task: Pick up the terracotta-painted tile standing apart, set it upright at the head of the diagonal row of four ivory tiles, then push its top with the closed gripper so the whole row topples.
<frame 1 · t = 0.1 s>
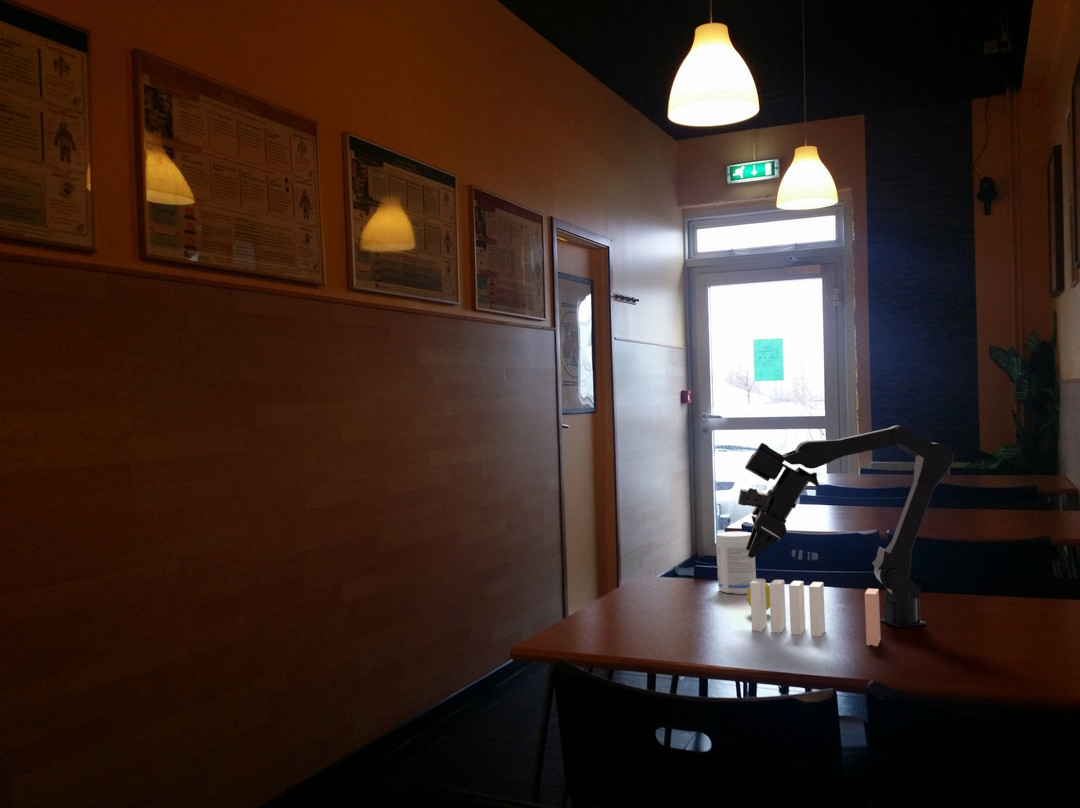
hand: (748, 553, 188), 15 cm above the table, tool tilted 35°, fingers open, 9 cm apart
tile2: (818, 633, 176), on the table
tile end: (759, 628, 182), on the table
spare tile: (873, 642, 168), on the table
tile3: (798, 631, 178), on the table
supplement tub: (737, 592, 219), on the table
lemon: (760, 615, 194), on the table
tile4: (778, 629, 180), on the table
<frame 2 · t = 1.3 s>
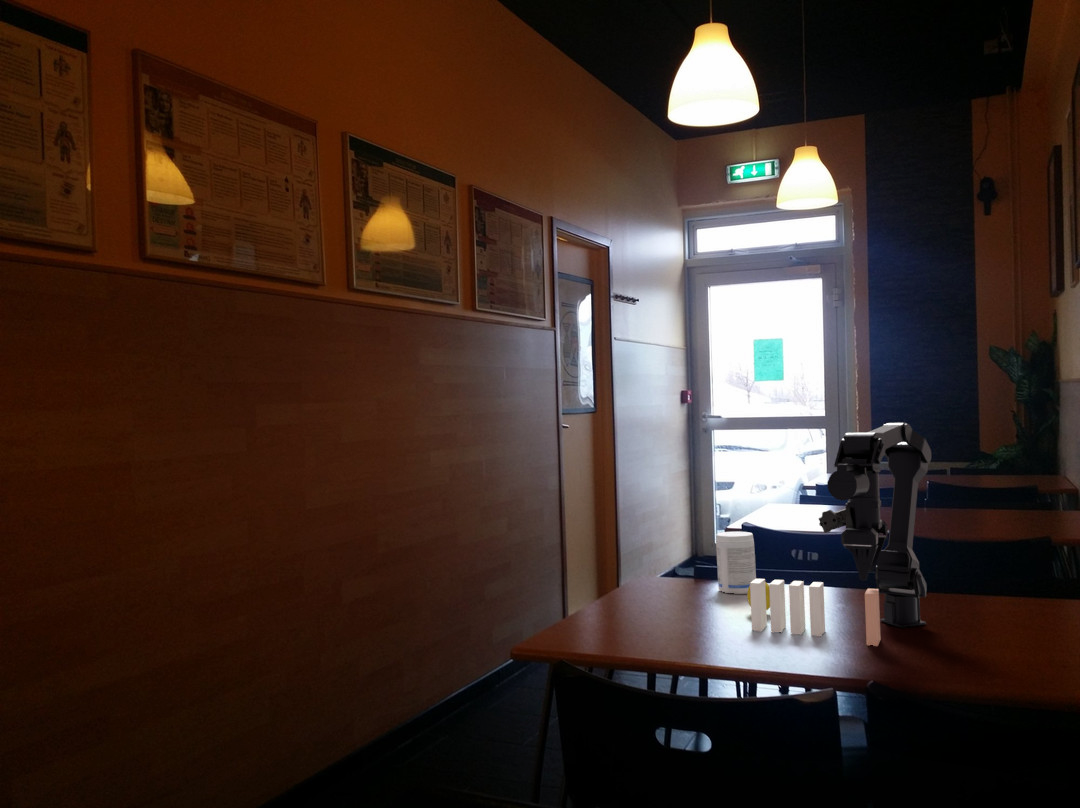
hand: (866, 575, 168), 13 cm above the table, tool pointing down, fingers open, 9 cm apart
nothing on the table moved.
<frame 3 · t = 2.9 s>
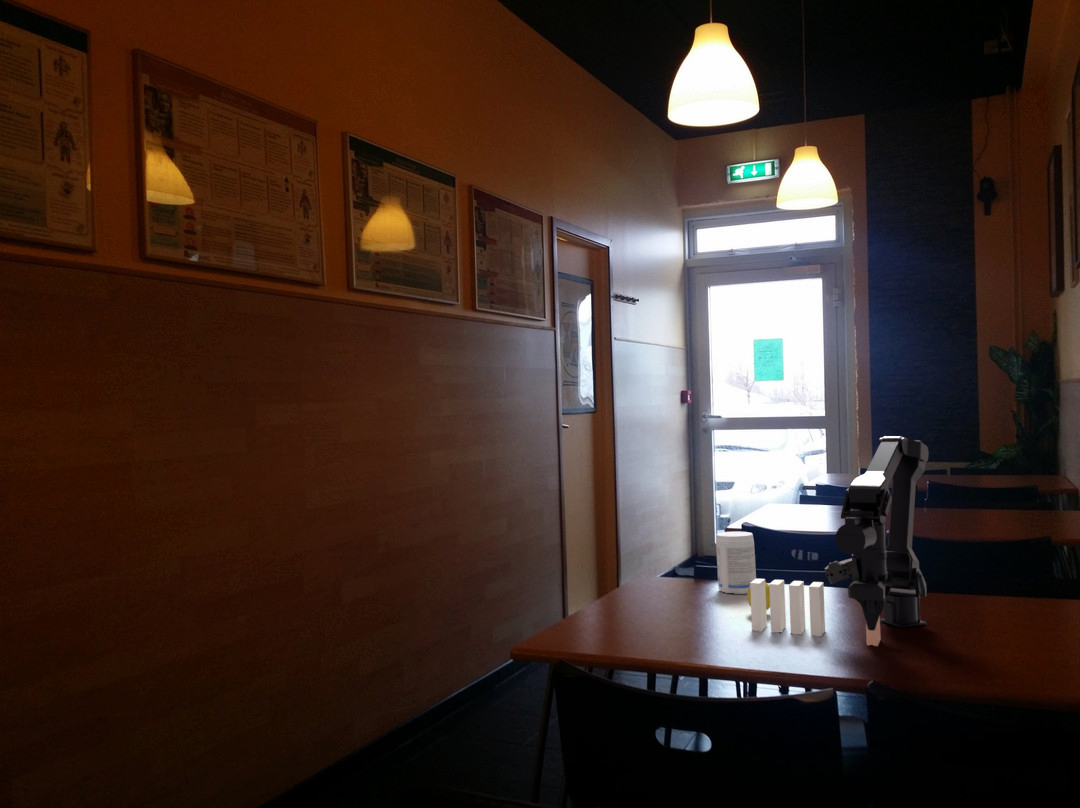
hand: (873, 626, 168), 3 cm above the table, tool pointing down, fingers closed on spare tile, 5 cm apart
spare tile: (873, 642, 168), on the table, touching gripper
everything else where it was.
when the fingers open (4 cm above the table, at t = 6.8 s): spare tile stays where it is, on the table.
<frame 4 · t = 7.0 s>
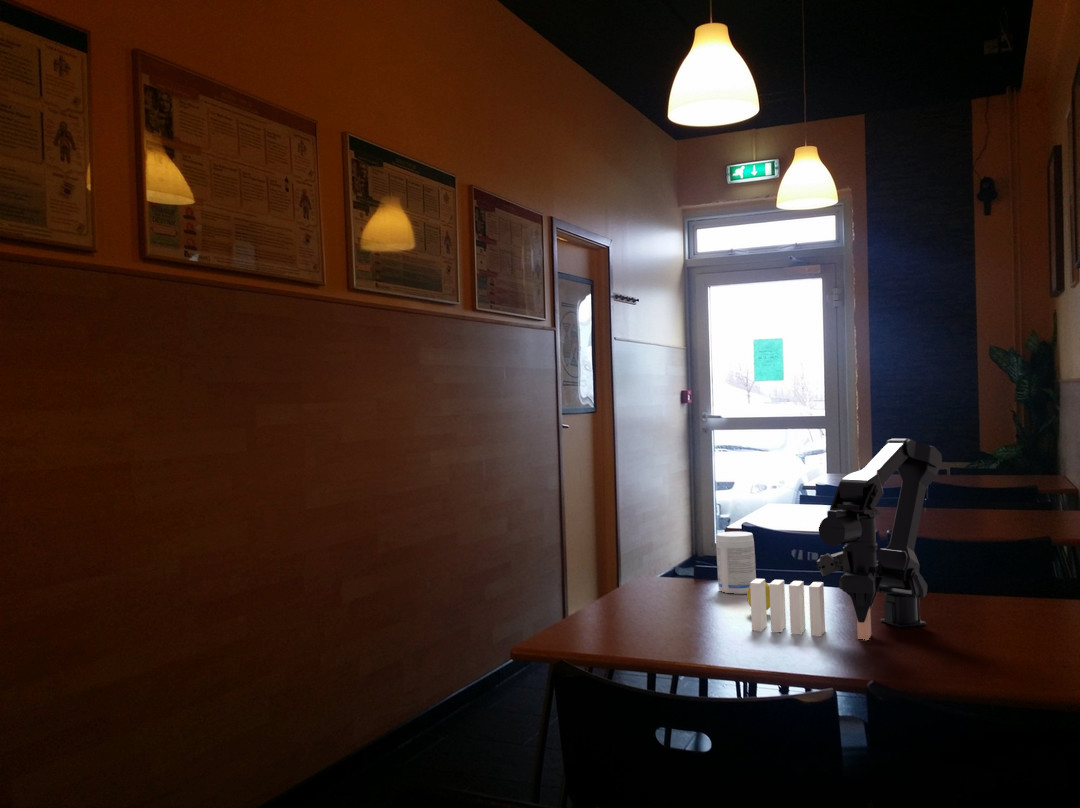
hand: (863, 617, 172), 4 cm above the table, tool pointing down, fingers open, 7 cm apart
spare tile: (864, 637, 172), on the table
everything else where it was.
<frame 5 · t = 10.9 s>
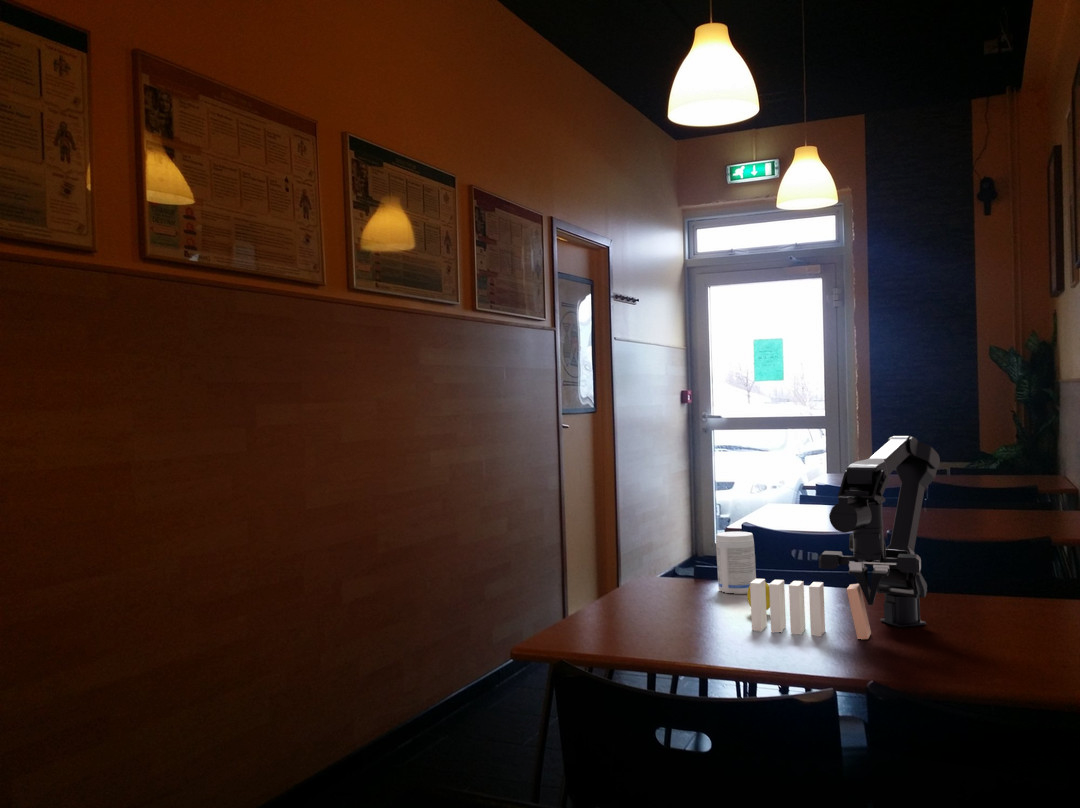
hand: (870, 604, 171), 7 cm above the table, tool pointing down, fingers closed
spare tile: (864, 636, 172), on the table, tilted 10°
everything else where it was.
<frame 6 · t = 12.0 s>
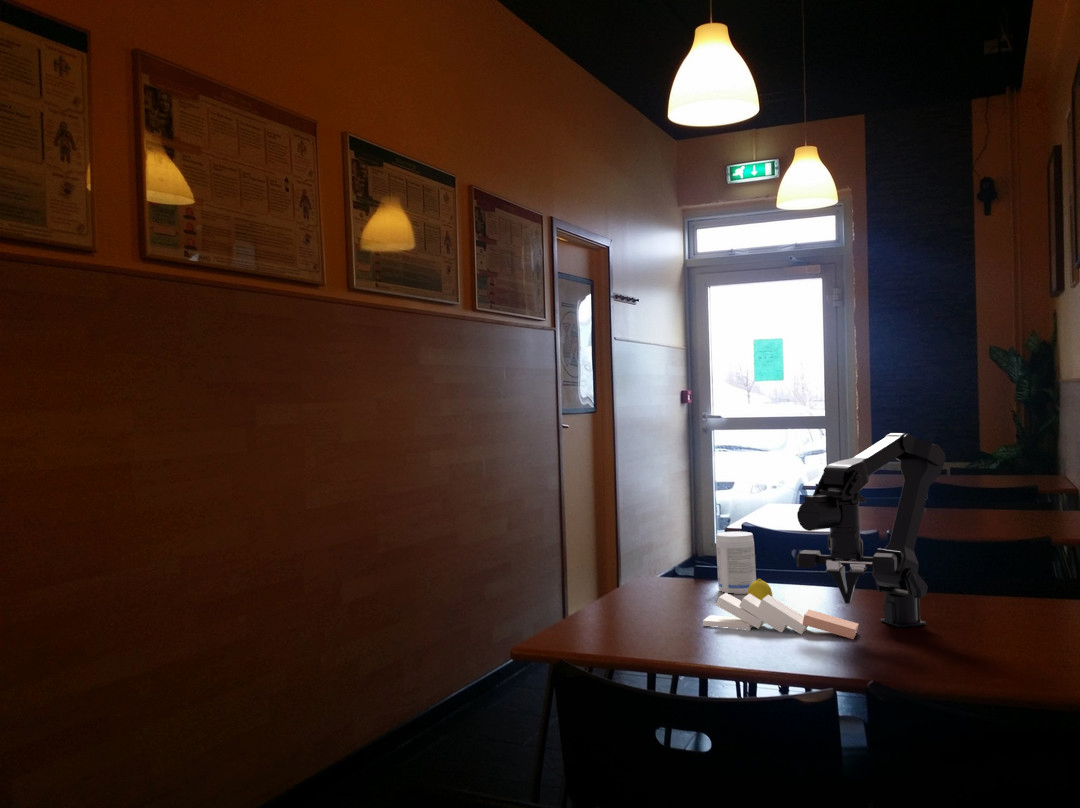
hand: (847, 603, 174), 7 cm above the table, tool pointing down, fingers closed
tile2: (806, 627, 177), point 1 cm above the table, tilted 61°, touching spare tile, tile3
tile end: (752, 626, 183), on the table, tilted 90°
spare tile: (856, 631, 173), point 1 cm above the table, tilted 77°, touching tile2
tile3: (786, 626, 179), point 1 cm above the table, tilted 61°, touching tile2
tile4: (763, 622, 182), point 1 cm above the table, tilted 65°
everything else where it was.
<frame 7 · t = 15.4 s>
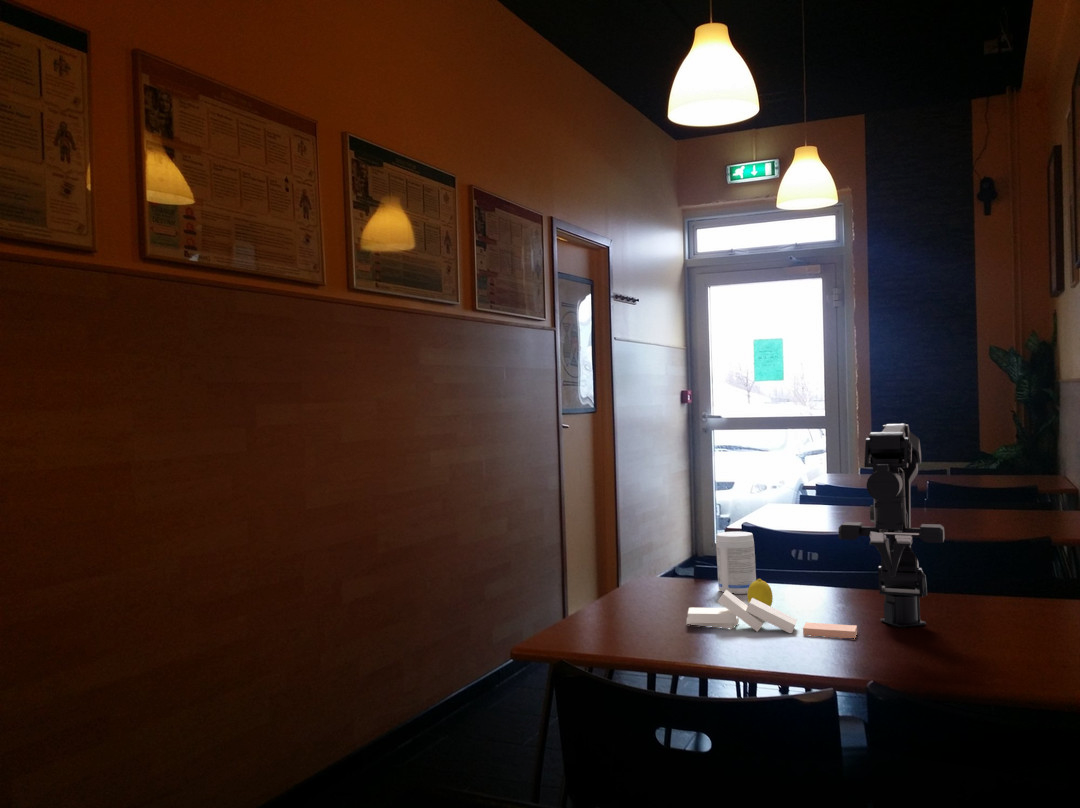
hand: (892, 576, 167), 13 cm above the table, tool pointing down, fingers closed
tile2: (794, 626, 178), point 1 cm above the table, tilted 65°
tile end: (735, 624, 184), on the table, tilted 90°, touching tile4
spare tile: (856, 633, 173), point 1 cm above the table, tilted 90°
tile3: (761, 625, 181), point 1 cm above the table, tilted 53°
tile4: (736, 615, 183), point 2 cm above the table, tilted 90°, touching tile end
everything else where it was.
at the end: tile end tilted 90°; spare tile tilted 90°; the gripper is holding nothing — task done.
